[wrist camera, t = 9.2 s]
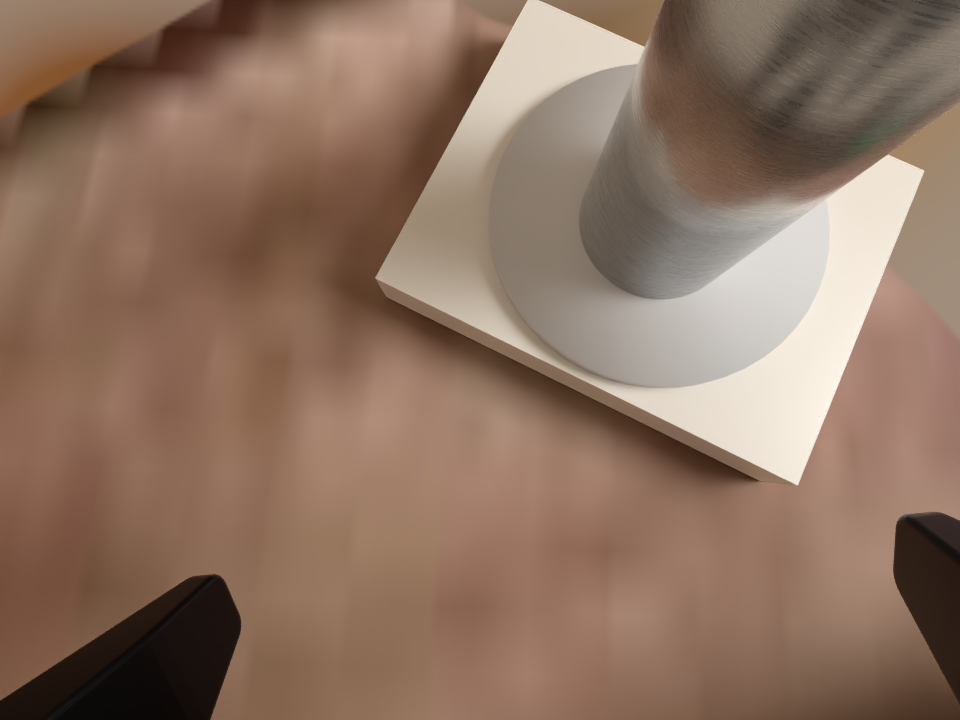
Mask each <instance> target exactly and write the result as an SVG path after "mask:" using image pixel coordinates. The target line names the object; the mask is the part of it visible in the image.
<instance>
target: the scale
mask: <svg viewBox="0 0 960 720" xmlns="http://www.w3.org/2000/svg"><path fill="white" fill-rule="evenodd" d="M644 48H645V47H643V46H641V45H639V44H637V43H634V42H632V41H630V40H627V39H625V38H623V37H621V36H618V35H616V34H614V33H612V32H609V31H607V30H605V29H603V28H600V27H598V26H596V25H594V24H591V23H589V22H587V21H585V20H582V19H580V18H578V17H575V16H573V15H571V14H569V13H566V12H564V11H562V10H559V9H557V8H555V7H553V6H551V5H548V4H546V3H544V2H542V1H539V0H528V1H527V3H526V5H525V6H524V8H523V10H522V12H521V13H520V15H519V17H518V19H517V21H516V23H515V24H514V26H513V28H512V30H511V32H510V34H509V35H508V37H507V39H506V41H505V43H504V44H503V46H502V48H501V50H500V52H499V54H498V55H497V57H496V59H495V61H494V63H493V64H492V66H491V68H490V70H489V72H488V74H487V75H486V77H485V79H484V81H483V83H482V84H481V86H480V88H479V90H478V92H477V94H476V95H475V97H474V99H473V101H472V103H471V105H470V106H469V108H468V110H467V112H466V114H465V115H464V117H463V119H462V121H461V123H460V125H459V126H458V128H457V130H456V132H455V134H454V135H453V137H452V139H451V141H450V143H449V145H448V146H447V148H446V150H445V152H444V154H443V155H442V157H441V159H440V161H439V163H438V165H437V166H436V168H435V170H434V172H433V174H432V176H431V177H430V179H429V181H428V183H427V185H426V186H425V188H424V190H423V192H422V194H421V196H420V197H419V199H418V201H417V203H416V205H415V206H414V208H413V210H412V212H411V214H410V216H409V217H408V219H407V221H406V223H405V225H404V226H403V228H402V230H401V232H400V234H399V236H398V237H397V239H396V241H395V243H394V245H393V247H392V248H391V250H390V252H389V254H388V256H387V257H386V259H385V261H384V263H383V265H382V267H381V268H380V270H379V272H378V274H377V276H376V277H375V279H376V281H377V282H378V284H379V286H380V287H381V289H382V291H383V292H384V294H385V296H386V297H387V298H389V299H391V300H393V301H395V302H397V303H399V304H401V305H403V306H405V307H407V308H409V309H411V310H413V311H415V312H417V313H419V314H421V315H423V316H425V317H427V318H430V319H432V320H434V321H436V322H438V323H440V324H442V325H444V326H446V327H448V328H450V329H452V330H454V331H456V332H458V333H460V334H462V335H464V336H466V337H468V338H470V339H472V340H474V341H476V342H478V343H480V344H482V345H484V346H486V347H488V348H490V349H492V350H495V351H497V352H499V353H501V354H503V355H505V356H507V357H509V358H511V359H513V360H515V361H517V362H519V363H521V364H523V365H525V366H527V367H529V368H531V369H533V370H535V371H537V372H539V373H541V374H543V375H545V376H547V377H549V378H551V379H553V380H555V381H557V382H560V383H562V384H564V385H566V386H568V387H570V388H572V389H574V390H576V391H578V392H580V393H582V394H584V395H586V396H588V397H590V398H592V399H594V400H596V401H598V402H600V403H602V404H604V405H606V406H608V407H610V408H612V409H614V410H616V411H618V412H620V413H623V414H625V415H627V416H629V417H631V418H633V419H635V420H637V421H639V422H641V423H643V424H645V425H647V426H649V427H651V428H653V429H655V430H657V431H659V432H661V433H663V434H665V435H667V436H669V437H671V438H673V439H675V440H677V441H679V442H681V443H683V444H685V445H688V446H690V447H692V448H694V449H696V450H698V451H700V452H702V453H704V454H706V455H708V456H710V457H712V458H714V459H716V460H718V461H720V462H722V463H724V464H726V465H728V466H730V467H732V468H734V469H736V470H738V471H740V472H742V473H744V474H746V475H748V476H751V477H753V478H755V479H757V480H759V481H761V482H769V483H779V484H788V485H798V483H799V481H800V478H801V476H802V473H803V471H804V468H805V466H806V463H807V461H808V458H809V456H810V454H811V451H812V449H813V446H814V444H815V441H816V439H817V436H818V434H819V431H820V429H821V426H822V424H823V421H824V419H825V416H826V414H827V411H828V409H829V406H830V404H831V401H832V399H833V396H834V394H835V391H836V389H837V386H838V384H839V382H840V379H841V377H842V374H843V372H844V369H845V367H846V364H847V362H848V359H849V357H850V354H851V352H852V349H853V347H854V344H855V342H856V339H857V337H858V334H859V332H860V329H861V327H862V324H863V322H864V319H865V317H866V314H867V312H868V310H869V307H870V305H871V302H872V300H873V297H874V295H875V292H876V290H877V287H878V285H879V282H880V280H881V277H882V275H883V272H884V270H885V267H886V265H887V262H888V260H889V257H890V255H891V252H892V250H893V247H894V245H895V242H896V240H897V237H898V235H899V232H900V230H901V227H902V225H903V223H904V220H905V217H906V215H907V213H908V210H909V208H910V205H911V203H912V200H913V198H914V195H915V193H916V190H917V188H918V185H919V183H920V180H921V178H922V175H923V173H924V170H921V169H919V168H917V167H915V166H912V165H910V164H908V163H906V162H903V161H901V160H899V159H896V158H894V157H892V156H890V155H886V156H885V157H884V158H882V159H881V160H879V161H878V162H877V163H875V164H874V165H873V166H871V167H870V168H868V169H867V170H866V171H864V172H863V173H862V174H860V175H859V176H857V177H856V178H855V179H853V180H852V181H850V182H849V183H848V184H846V185H845V186H844V187H842V188H841V189H839V190H838V191H837V192H835V193H834V194H832V195H831V196H830V197H828V198H827V199H826V200H824V201H823V202H821V203H820V204H819V205H817V206H816V207H814V208H813V209H812V210H810V211H809V212H808V213H806V214H805V215H803V216H802V217H801V218H799V219H798V220H796V221H795V222H794V223H792V224H791V225H790V226H788V227H787V228H785V229H784V230H783V231H781V232H780V233H778V234H777V235H776V236H774V237H773V238H772V239H770V240H769V241H767V242H766V243H765V244H763V245H762V246H760V247H759V248H758V249H756V250H755V251H754V252H752V253H751V254H749V255H748V256H747V257H745V258H744V259H742V260H741V261H740V262H738V263H737V264H736V265H734V266H733V267H731V268H730V269H729V270H727V271H726V272H724V273H723V274H722V275H720V276H719V277H718V278H716V279H715V280H713V281H712V282H711V283H709V284H708V285H706V286H705V287H704V288H702V289H700V290H698V291H696V292H694V293H692V294H689V295H686V296H684V297H679V298H674V299H649V298H644V297H640V296H636V295H633V294H630V293H628V292H626V291H624V290H622V289H620V288H618V287H617V286H615V285H613V284H612V283H611V282H610V281H608V280H607V279H606V278H605V277H604V276H603V275H602V274H601V273H600V272H599V271H598V270H597V269H596V267H595V266H594V265H593V263H592V262H591V260H590V259H589V257H588V255H587V253H586V251H585V249H584V246H583V243H582V240H581V236H580V229H579V213H580V207H581V203H582V199H583V196H584V194H585V191H586V189H587V186H588V184H589V182H590V179H591V177H592V174H593V172H594V169H595V167H596V165H597V162H598V160H599V157H600V155H601V152H602V150H603V148H604V145H605V143H606V140H607V138H608V135H609V133H610V131H611V128H612V126H613V123H614V121H615V119H616V116H617V114H618V111H619V109H620V106H621V104H622V102H623V99H624V97H625V94H626V92H627V89H628V87H629V85H630V82H631V80H632V77H633V75H634V73H635V70H636V68H637V65H638V63H639V60H640V58H641V56H642V53H643V51H644Z"/></svg>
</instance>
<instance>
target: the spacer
mask: <svg viewBox="0 0 960 720" xmlns="http://www.w3.org/2000/svg"><path fill="white" fill-rule="evenodd" d="M958 103H960V0H664V2H663V5H662V7H661V10H660V12H659V14H658V17H657V19H656V22H655V24H654V26H653V29H652V31H651V34H650V36H649V39H648V41H647V43H646V46H645V48H644V51H643V53H642V56H641V58H640V60H639V63H638V65H637V68H636V70H635V73H634V75H633V77H632V80H631V82H630V85H629V87H628V89H627V92H626V94H625V97H624V99H623V102H622V104H621V106H620V109H619V111H618V114H617V116H616V119H615V121H614V123H613V126H612V128H611V131H610V133H609V135H608V138H607V140H606V143H605V145H604V148H603V150H602V152H601V155H600V157H599V160H598V162H597V165H596V167H595V169H594V172H593V174H592V177H591V179H590V182H589V184H588V186H587V189H586V191H585V194H584V196H583V199H582V203H581V207H580V213H579V229H580V236H581V240H582V243H583V246H584V249H585V251H586V253H587V255H588V257H589V259H590V260H591V262H592V263H593V265H594V266H595V267H596V269H597V270H598V271H599V272H600V273H601V274H602V275H603V276H604V277H605V278H606V279H607V280H608V281H610V282H611V283H612V284H613V285H615V286H617V287H618V288H620V289H622V290H624V291H626V292H628V293H630V294H633V295H636V296H640V297H644V298H649V299H674V298H679V297H684V296H686V295H689V294H692V293H694V292H696V291H698V290H700V289H702V288H704V287H705V286H706V285H708V284H709V283H711V282H712V281H713V280H715V279H716V278H718V277H719V276H720V275H722V274H723V273H724V272H726V271H727V270H729V269H730V268H731V267H733V266H734V265H736V264H737V263H738V262H740V261H741V260H742V259H744V258H745V257H747V256H748V255H749V254H751V253H752V252H754V251H755V250H756V249H758V248H759V247H760V246H762V245H763V244H765V243H766V242H767V241H769V240H770V239H772V238H773V237H774V236H776V235H777V234H778V233H780V232H781V231H783V230H784V229H785V228H787V227H788V226H790V225H791V224H792V223H794V222H795V221H796V220H798V219H799V218H801V217H802V216H803V215H805V214H806V213H808V212H809V211H810V210H812V209H813V208H814V207H816V206H817V205H819V204H820V203H821V202H823V201H824V200H826V199H827V198H828V197H830V196H831V195H832V194H834V193H835V192H837V191H838V190H839V189H841V188H842V187H844V186H845V185H846V184H848V183H849V182H850V181H852V180H853V179H855V178H856V177H857V176H859V175H860V174H862V173H863V172H864V171H866V170H867V169H868V168H870V167H871V166H873V165H874V164H875V163H877V162H878V161H879V160H881V159H882V158H884V157H885V156H886V155H888V154H889V153H891V152H892V151H893V150H895V149H896V148H897V147H899V146H900V145H902V144H903V143H904V142H906V141H907V140H908V139H910V138H911V137H913V136H914V135H915V134H917V133H918V132H920V131H921V130H922V129H924V128H925V127H927V126H928V125H929V124H931V123H932V122H933V121H935V120H936V119H937V118H939V117H940V116H942V115H943V114H945V113H946V112H947V111H949V110H950V109H951V108H953V107H954V106H955V105H957V104H958Z"/></svg>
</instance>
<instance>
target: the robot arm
mask: <svg viewBox="0 0 960 720" xmlns="http://www.w3.org/2000/svg"><path fill="white" fill-rule="evenodd" d="M893 572H894V578H895V582H896V585H897V588H898V590H899V592H900V594H901V596H902V598H903V600H904V602H905V603H906V605H907V607H908V609H909V611H910V613H911V615H912V616H913V618H914V620H915V622H916V624H917V626H918V628H919V630H920V631H921V633H922V635H923V637H924V639H925V641H926V643H927V645H928V646H929V648H930V650H931V652H932V654H933V656H934V658H935V660H936V661H937V663H938V665H939V667H940V669H941V671H942V673H943V675H944V676H945V678H946V680H947V682H948V684H949V686H950V688H951V690H952V691H953V693H954V695H955V697H956V699H957V701H958V702H959V704H960V520H957V519H955V518H953V517H950V516H948V515H946V514H943V513H939V512H927V513H916V514H906V515H903V516H901V517H900V518H899V519H898V521H897V524H896V533H895V548H894V564H893ZM240 631H241V618H240V615H239V612H238V610H237V608H236V605H235V603H234V601H233V598H232V596H231V594H230V592H229V589H228V587H227V585H226V583H225V581H224V579H223V578H222V577H220V576H219V575H215V574H212V575H200V576H193V577H190V578H188V579H186V580H185V581H183V582H182V583H180V584H179V585H177V586H176V587H174V588H172V589H171V590H169V591H168V592H166V593H165V594H163V595H162V596H160V597H159V598H157V599H156V600H154V601H153V602H151V603H149V604H148V605H146V606H145V607H143V608H142V609H140V610H139V611H137V612H136V613H134V614H133V615H131V616H129V617H128V618H126V619H125V620H123V621H122V622H120V623H119V624H117V625H116V626H114V627H113V628H111V629H110V630H108V631H106V632H105V633H103V634H102V635H100V636H99V637H97V638H96V639H94V640H93V641H91V642H90V643H88V644H86V645H85V646H83V647H82V648H80V649H79V650H77V651H76V652H74V653H73V654H71V655H70V656H68V657H67V658H65V659H63V660H62V661H60V662H59V663H57V664H56V665H54V666H53V667H51V668H50V669H48V670H47V671H45V672H43V673H42V674H40V675H39V676H37V677H36V678H34V679H33V680H31V681H30V682H28V683H27V684H25V685H24V686H22V687H20V688H19V689H17V690H16V691H14V692H13V693H11V694H10V695H8V696H7V697H5V698H4V699H2V700H0V720H210V719H211V716H212V713H213V710H214V708H215V705H216V702H217V699H218V696H219V693H220V690H221V687H222V685H223V682H224V679H225V676H226V673H227V670H228V667H229V664H230V661H231V659H232V656H233V653H234V650H235V647H236V644H237V641H238V638H239V635H240Z"/></svg>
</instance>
